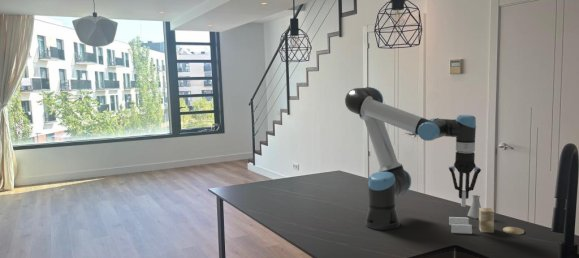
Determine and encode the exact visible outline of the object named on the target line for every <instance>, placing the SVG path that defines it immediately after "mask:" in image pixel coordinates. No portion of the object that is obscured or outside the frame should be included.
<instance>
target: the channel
mask: <svg viewBox="0 0 579 258" xmlns="http://www.w3.org/2000/svg"><path fill="white" fill-rule="evenodd" d="M469 219H470V217H466V216H465V217H460V216H457V217H456V216H448V221H449V222H448V224H449V226H451V227H450V229H451V230H450V231H451V233H452V234H471V235H472V234H473V226H472V225H473V224H470V222H469V221H470V220H469Z"/></svg>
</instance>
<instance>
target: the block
mask: <svg viewBox="0 0 579 258" xmlns="http://www.w3.org/2000/svg"><path fill="white" fill-rule="evenodd" d="M478 229H479V231H480V233H491V234H493V233H494V232H495V210H493V208H492V207H491V208H489V207H481V208H479V218H478Z"/></svg>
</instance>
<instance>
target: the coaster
mask: <svg viewBox="0 0 579 258" xmlns="http://www.w3.org/2000/svg"><path fill="white" fill-rule="evenodd" d="M502 231H503V232H504V233H506V234H508V235H509V234H510V235H516V236H517V235H524V234H525V230H524V229H522V228H520V227H518V226H517V227H516V226H505V227H503V228H502Z"/></svg>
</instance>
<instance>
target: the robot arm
mask: <svg viewBox="0 0 579 258" xmlns="http://www.w3.org/2000/svg"><path fill="white" fill-rule="evenodd" d="M344 101H345V102H344V103H345V106H346V108H347V109H348V110H349V111H350V112H352V113H353V114H357V115H358V116H359V118H360V119H361V120H363V121H364V123H365V126H366V129H367V132H368V136H369V138H370V141H371V144H372V147H373V149H374V153H375V155H376V159H377V162H378V165H379V170H378V172H374V173H372V174H370V176H369V177H368V184H367V185H368V211H367V214H366V218H365V226H366V227H368V228H370V229H372V230H378V231H379V230H380V231H390V230H395V229H397V228H399V227H400V218H399V215H398V213H397V209H396V198H397V197H399V196H401V195H404V194H405V193H406V192H408V190H410V188H411V186H412V178H411V175H410V174H409V172H408V171H406V170H405V168H404V166H403V164H402V163H400V162H398V159H397V156H396V153H395V150H394V147H393V145H392V141H391V139H390V135H389V133H388V130H387V127H386V125H385V123H386V124H388V125H391V126H393V127H396V128H399V129H401V130H404V131H406V132H409V133H412V134H415V135H417V136H418V137H419V138H420V139H421V140H423V141H426V142H427V141H430V142H431V141H434V140H436V139H439V138H442V137H450V138H451V137H452V138H455V151H456V152H455V161H454V163H453V165H452V166H448V170H449V172H450V175H451V177H452V178H451V179H452V182H453V187H454V190H457V191H458V198H459V199H460V206H461V207H463V208H465V207H467V206H466V203H467V202H466V201H467V199H469V197H470V195H469V194H470V191H473V190H474V189H475V185H476V182H477V179H478V176H479V174H480V173H481V171H482V169H481V168H480V167H478V166H476V163H475V159H476V158H475V157H476V155H475V150H476V133H477V132H476V130H477V129H476V128H477V125H476V124H477V121H476V117H475V116H474V115H472V114H459V115H457V116H456V119H450V118H430V119H427V118H424V117H422V116H419V115H416V114H413V113H410V112H408V111H405V110H403V109H400V108H397V107H394V106H391V105H388V104H386V103H384V96H383V94H382V93H381V91H380V90H379V89H377V88H375V87H370V86H366V87H356V88H353V89H351V90H348V92H347V94H346V95H345V98H344ZM455 170H456V171H457V172H458V174H459V175H458V183H457V177H456V173H455ZM473 171H474V172H473ZM472 172H473V175H472V178H471V179H472V180H471V182H470V174H471V173H472ZM464 174H465V179H464ZM464 180H465V185H464V182H463V181H464ZM463 185H464V187H465V188H463ZM464 189H465V190H464Z"/></svg>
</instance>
